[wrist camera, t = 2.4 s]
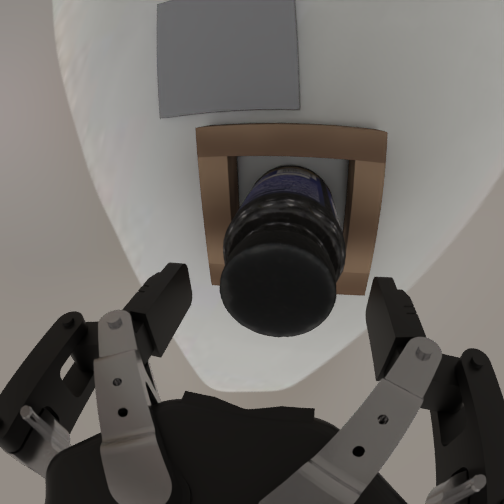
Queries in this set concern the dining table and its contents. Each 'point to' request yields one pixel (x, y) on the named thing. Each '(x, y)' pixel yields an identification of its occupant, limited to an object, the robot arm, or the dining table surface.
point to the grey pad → (226, 56)
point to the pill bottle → (283, 254)
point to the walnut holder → (300, 145)
